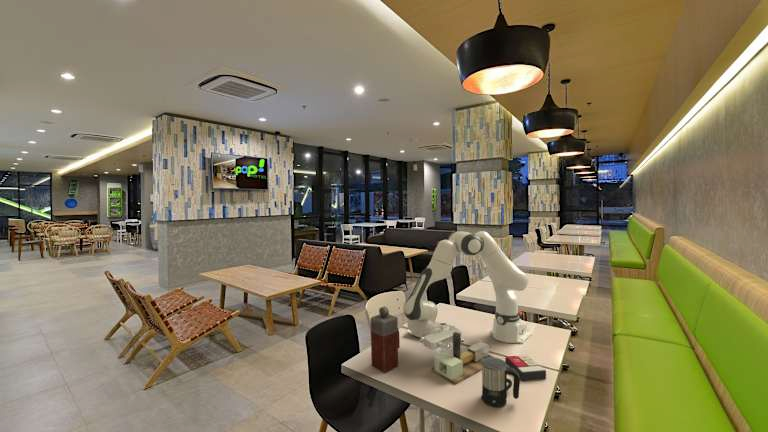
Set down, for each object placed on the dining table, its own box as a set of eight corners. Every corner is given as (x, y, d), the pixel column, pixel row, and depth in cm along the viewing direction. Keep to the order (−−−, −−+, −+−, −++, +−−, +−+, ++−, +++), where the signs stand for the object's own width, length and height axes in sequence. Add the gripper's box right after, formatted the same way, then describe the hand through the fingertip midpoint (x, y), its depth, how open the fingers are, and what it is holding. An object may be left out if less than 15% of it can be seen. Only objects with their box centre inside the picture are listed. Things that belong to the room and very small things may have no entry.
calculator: (527, 353, 154) (546, 369, 139) (527, 362, 154) (546, 379, 139) (504, 355, 153) (521, 371, 138) (505, 364, 153) (522, 381, 138)
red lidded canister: (402, 364, 153) (401, 305, 151) (384, 373, 145) (383, 312, 143) (388, 357, 159) (387, 301, 157) (371, 365, 152) (370, 307, 150)
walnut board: (474, 349, 165) (474, 348, 165) (498, 361, 154) (498, 359, 154) (431, 370, 147) (431, 368, 147) (455, 384, 136) (455, 382, 136)
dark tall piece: (471, 355, 155) (471, 325, 154) (476, 357, 153) (476, 327, 152) (444, 367, 144) (444, 335, 143) (450, 370, 142) (450, 338, 141)
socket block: (445, 364, 150) (445, 352, 149) (462, 374, 142) (462, 361, 141) (434, 370, 146) (434, 357, 145) (451, 380, 138) (451, 366, 137)
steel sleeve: (479, 351, 161) (479, 341, 161) (489, 356, 156) (489, 345, 156) (466, 358, 155) (466, 347, 155) (476, 363, 150) (476, 352, 150)
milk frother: (484, 408, 121) (485, 369, 120) (473, 383, 137) (473, 348, 136) (523, 407, 121) (524, 369, 120) (507, 382, 137) (508, 348, 136)
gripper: (417, 333, 151) (439, 344, 140) (448, 321, 163) (470, 331, 152) (417, 346, 151) (439, 358, 140) (448, 334, 163) (470, 344, 152)
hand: (455, 344), depth 146 cm, fingers open, 8 cm apart
